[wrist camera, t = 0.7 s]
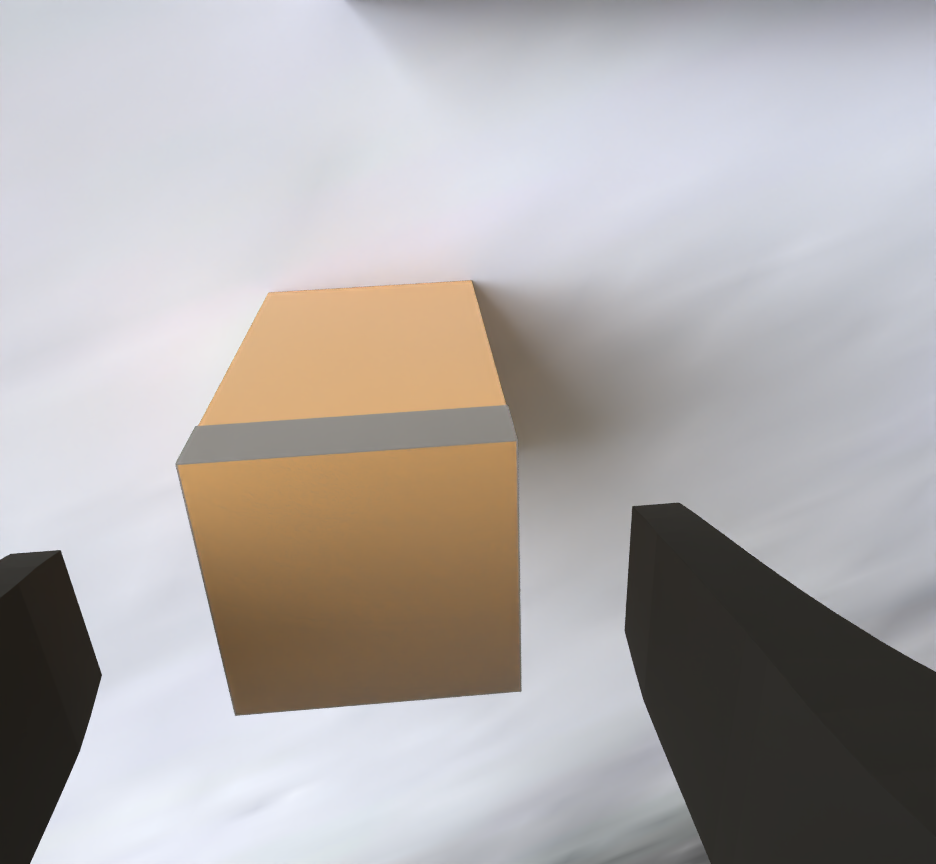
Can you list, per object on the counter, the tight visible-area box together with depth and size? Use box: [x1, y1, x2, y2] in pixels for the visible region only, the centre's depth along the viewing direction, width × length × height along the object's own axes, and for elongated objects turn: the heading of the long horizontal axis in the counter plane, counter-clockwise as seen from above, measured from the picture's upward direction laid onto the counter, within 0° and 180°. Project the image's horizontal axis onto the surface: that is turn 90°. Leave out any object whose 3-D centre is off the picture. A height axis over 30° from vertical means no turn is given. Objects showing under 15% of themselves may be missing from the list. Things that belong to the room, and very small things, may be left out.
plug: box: [175, 280, 521, 716], centre depth 13 cm, size 4×4×7 cm
